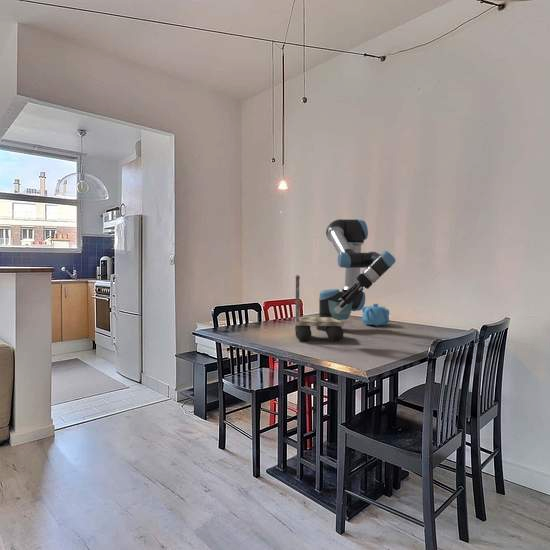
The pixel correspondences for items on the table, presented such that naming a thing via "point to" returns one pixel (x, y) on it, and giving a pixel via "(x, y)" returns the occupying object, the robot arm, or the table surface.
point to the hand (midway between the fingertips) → (334, 310)
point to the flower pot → (343, 313)
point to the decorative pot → (375, 315)
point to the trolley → (316, 323)
